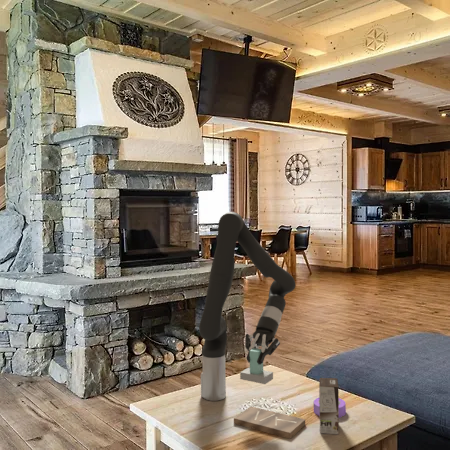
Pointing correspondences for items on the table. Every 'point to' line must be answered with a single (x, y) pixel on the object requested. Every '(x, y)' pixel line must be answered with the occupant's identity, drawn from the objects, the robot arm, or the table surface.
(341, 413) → the masking tape
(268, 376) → the block
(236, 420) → the walnut board
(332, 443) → the table surface
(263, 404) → the table surface
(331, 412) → the coffee box
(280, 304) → the robot arm
